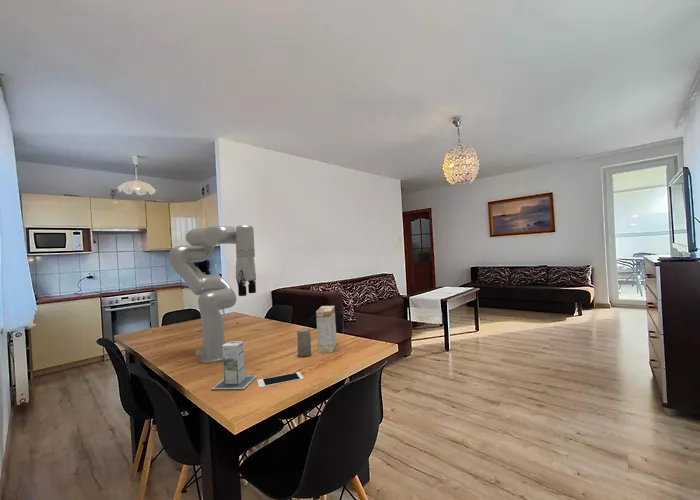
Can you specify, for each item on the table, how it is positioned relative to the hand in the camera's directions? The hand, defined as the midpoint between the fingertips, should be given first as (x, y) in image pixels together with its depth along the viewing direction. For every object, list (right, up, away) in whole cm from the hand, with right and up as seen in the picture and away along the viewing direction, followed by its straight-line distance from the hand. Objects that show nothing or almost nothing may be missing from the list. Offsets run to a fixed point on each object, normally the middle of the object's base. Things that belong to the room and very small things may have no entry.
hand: (247, 294), depth 139 cm
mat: (+2, -30, -20) cm, 36 cm away
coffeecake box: (+33, -29, +19) cm, 48 cm away
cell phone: (+18, -30, -18) cm, 39 cm away
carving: (+23, -30, +10) cm, 39 cm away
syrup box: (+2, -30, -20) cm, 36 cm away
